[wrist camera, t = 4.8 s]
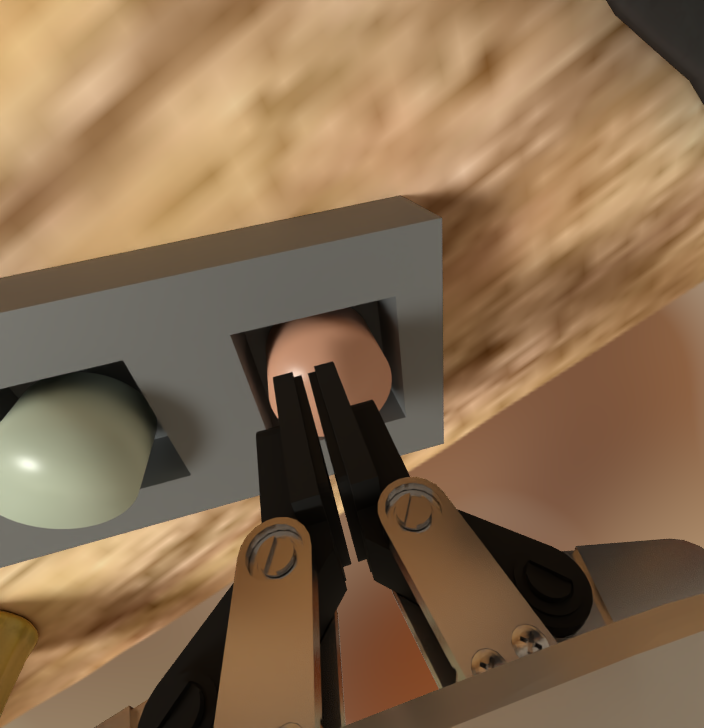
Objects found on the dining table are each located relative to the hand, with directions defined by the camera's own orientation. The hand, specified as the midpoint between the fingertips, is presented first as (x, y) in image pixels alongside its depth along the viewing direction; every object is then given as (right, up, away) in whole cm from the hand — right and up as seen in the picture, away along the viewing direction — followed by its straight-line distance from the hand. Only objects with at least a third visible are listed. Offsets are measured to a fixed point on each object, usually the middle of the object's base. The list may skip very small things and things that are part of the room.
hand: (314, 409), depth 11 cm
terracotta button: (0, +2, +4) cm, 4 cm away
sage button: (-8, -1, +2) cm, 8 cm away
